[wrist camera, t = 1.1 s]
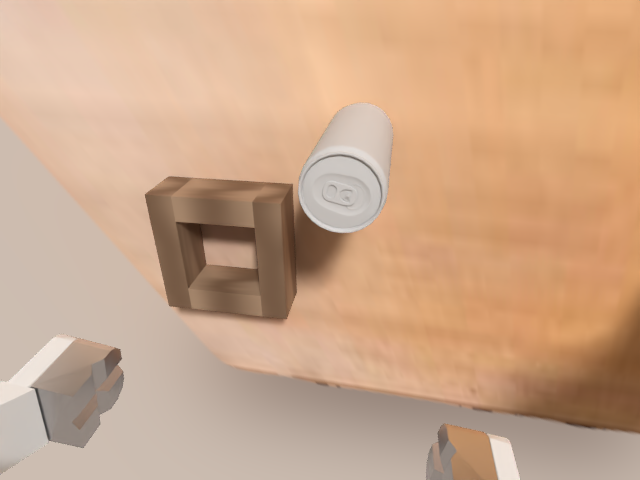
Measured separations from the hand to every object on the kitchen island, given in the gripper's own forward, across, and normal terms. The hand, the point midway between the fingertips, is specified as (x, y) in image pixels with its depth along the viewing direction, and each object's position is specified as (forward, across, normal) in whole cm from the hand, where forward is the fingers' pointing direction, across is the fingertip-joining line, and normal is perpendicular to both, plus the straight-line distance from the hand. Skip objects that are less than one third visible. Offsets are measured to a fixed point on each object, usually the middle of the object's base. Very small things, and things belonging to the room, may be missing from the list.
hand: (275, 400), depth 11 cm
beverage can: (+26, 0, 0) cm, 26 cm away
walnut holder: (+26, +9, +12) cm, 30 cm away
